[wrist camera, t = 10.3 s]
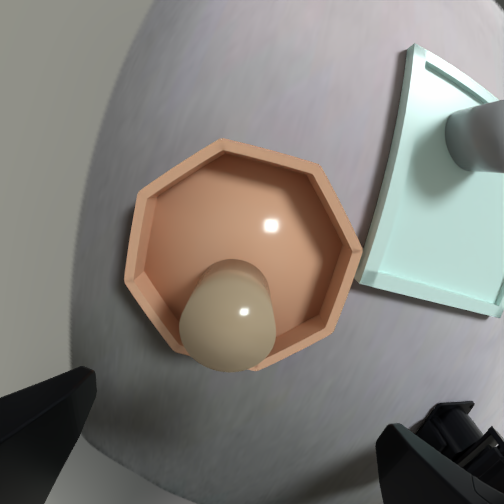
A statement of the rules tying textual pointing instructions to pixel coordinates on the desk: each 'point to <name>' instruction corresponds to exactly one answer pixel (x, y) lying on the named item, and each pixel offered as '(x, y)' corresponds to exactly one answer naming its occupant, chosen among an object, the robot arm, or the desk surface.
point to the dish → (244, 240)
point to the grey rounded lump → (477, 137)
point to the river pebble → (229, 317)
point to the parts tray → (436, 201)
